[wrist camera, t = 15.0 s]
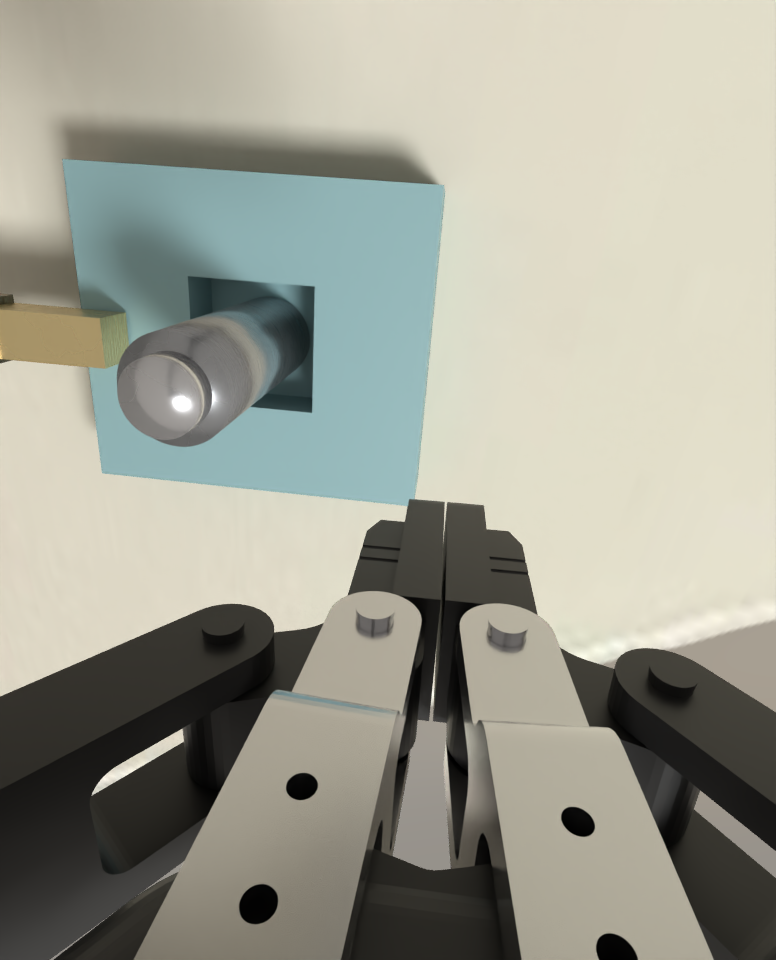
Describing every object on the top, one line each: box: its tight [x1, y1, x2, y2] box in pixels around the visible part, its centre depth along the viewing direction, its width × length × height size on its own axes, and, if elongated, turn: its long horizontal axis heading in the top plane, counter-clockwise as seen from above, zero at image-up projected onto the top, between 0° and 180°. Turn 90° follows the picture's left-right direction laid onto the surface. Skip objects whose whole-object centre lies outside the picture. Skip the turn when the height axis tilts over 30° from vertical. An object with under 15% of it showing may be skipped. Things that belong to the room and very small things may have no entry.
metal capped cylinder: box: [117, 296, 310, 447], centre depth 27 cm, size 4×4×13 cm
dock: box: [62, 159, 445, 506], centre depth 32 cm, size 16×18×4 cm
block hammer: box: [0, 294, 129, 369], centre depth 29 cm, size 3×8×3 cm, turn 86°
